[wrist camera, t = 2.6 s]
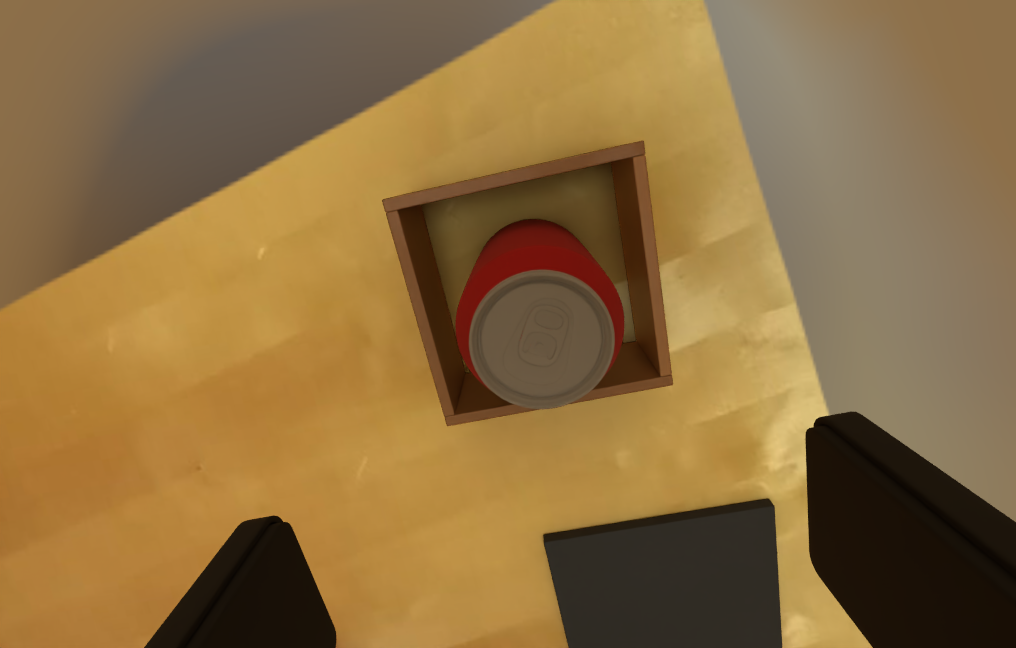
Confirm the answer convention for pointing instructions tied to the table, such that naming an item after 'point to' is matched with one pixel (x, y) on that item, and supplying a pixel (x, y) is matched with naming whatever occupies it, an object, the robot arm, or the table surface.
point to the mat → (671, 580)
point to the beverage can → (538, 317)
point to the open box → (650, 352)
